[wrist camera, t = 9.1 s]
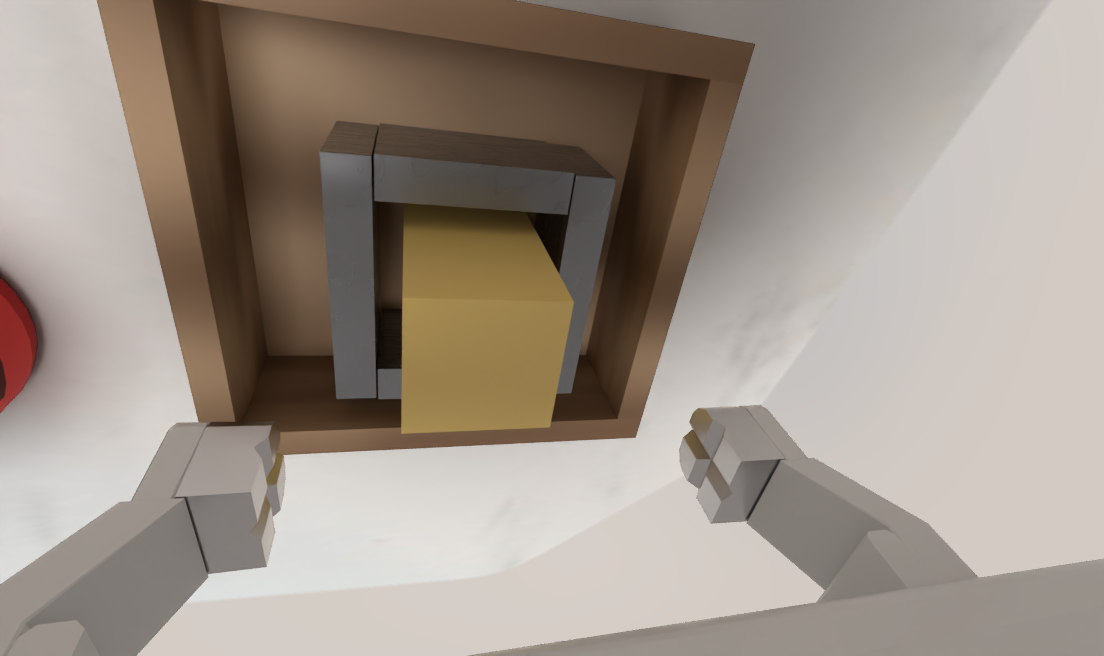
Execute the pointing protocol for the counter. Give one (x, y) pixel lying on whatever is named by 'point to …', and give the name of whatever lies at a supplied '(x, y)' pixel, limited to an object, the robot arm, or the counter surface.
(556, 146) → the socket
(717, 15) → the counter surface
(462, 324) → the plug
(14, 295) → the canned food
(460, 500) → the counter surface
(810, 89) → the counter surface
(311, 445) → the walled box
